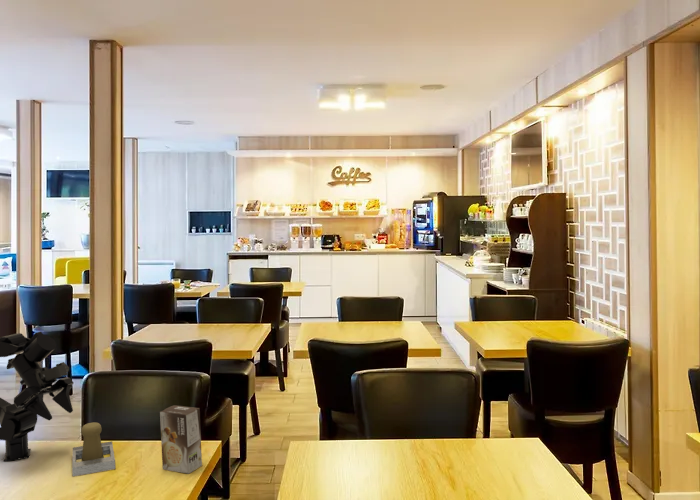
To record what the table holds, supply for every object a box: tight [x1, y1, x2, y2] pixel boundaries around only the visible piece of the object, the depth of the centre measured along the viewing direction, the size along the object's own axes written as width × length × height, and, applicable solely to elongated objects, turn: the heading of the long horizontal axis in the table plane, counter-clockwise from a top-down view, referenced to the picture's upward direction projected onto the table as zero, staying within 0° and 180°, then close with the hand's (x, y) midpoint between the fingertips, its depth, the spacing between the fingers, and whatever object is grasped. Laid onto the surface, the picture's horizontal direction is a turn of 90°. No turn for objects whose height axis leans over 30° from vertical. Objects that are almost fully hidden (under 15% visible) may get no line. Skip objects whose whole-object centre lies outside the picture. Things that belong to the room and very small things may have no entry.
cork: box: [80, 422, 105, 462], centre depth 169 cm, size 6×6×11 cm
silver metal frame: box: [71, 441, 116, 477], centre depth 169 cm, size 16×11×2 cm
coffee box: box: [159, 404, 203, 474], centre depth 164 cm, size 9×6×16 cm
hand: (61, 415), depth 169 cm, fingers open, 9 cm apart
